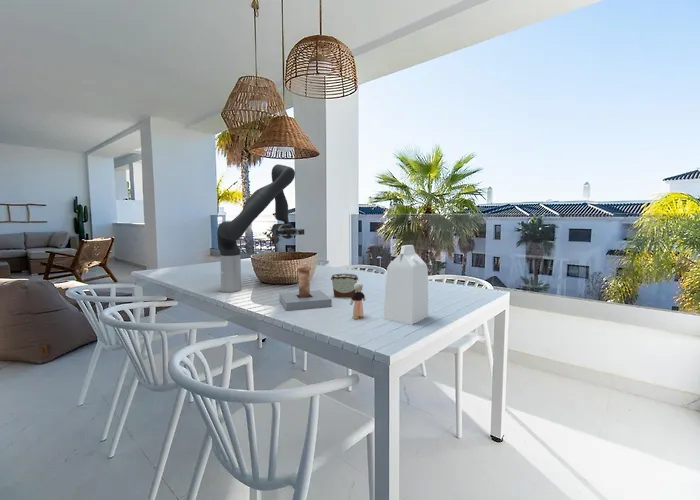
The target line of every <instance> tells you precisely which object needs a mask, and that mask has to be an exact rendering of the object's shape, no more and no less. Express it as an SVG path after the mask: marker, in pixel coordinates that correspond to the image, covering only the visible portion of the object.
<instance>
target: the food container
mask: <svg viewBox="0 0 700 500" xmlns="http://www.w3.org/2000/svg"><path fill="white" fill-rule="evenodd" d="M330 280H331V282H332V283H331V284H332V290H333V291H332V292H333V298H334V299H335V298H336V299H352V297H353V295H354V293H355V292H356V291H355V289H354V285H355V284H356V283H358V282H359V277H358V275H357V274H354V273H335V274H332V275H331V277H330Z"/></svg>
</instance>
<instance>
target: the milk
mask: <svg viewBox="0 0 700 500" xmlns="http://www.w3.org/2000/svg"><path fill="white" fill-rule="evenodd" d="M400 248H401V249H400V253H399V254H398V255H397V256H396V257H395V258H394V259H393V260H391V262H390V263H389V264H388V266H387V267H386V275H385V276H386V278H385V290H384V305H383V319H384V318H385V320H390V321H393V320H394V321H393V322H398V321H399V322H398V323H402V322H403V323H402V324H406V323H407V324H408V325H411V324H412V325H414V323H415V324H416V322H417V323H419V322H420V320H421V321H423V320H425V319H427V318H429V276H428V274H429V273H428V272H429V271H428V270H429V269H428V265H427V264H426V262H425V261H424V260H423V259H422V258H421V257H420V256H419V255H418V254H417V252H416V250H415V246H414V245H413V244H406V245H401V247H400ZM426 317H427V318H426ZM424 318H425V319H424ZM422 319H423V320H422ZM418 321H419V322H418ZM407 324H406V325H407Z"/></svg>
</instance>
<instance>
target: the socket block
mask: <svg viewBox="0 0 700 500" xmlns="http://www.w3.org/2000/svg"><path fill="white" fill-rule="evenodd" d="M278 294H279V295H278V297H279V298H278V299H279V302H280V303H281V304H282V306H283V308H284V309H285V311H297V310H299V311H300V310H308V309H310V310H311V309H321V308H331V307H332V304H333V303H332V302H333V301H332V300H333V299H332V298H331V297H329V296H328V295H327V294H325V293H324V292H323V291H321V290H320V289H318V290H310V297H308V298H299V291H293V292H292V291H291V292H279V293H278Z"/></svg>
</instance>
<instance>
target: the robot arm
mask: <svg viewBox="0 0 700 500" xmlns="http://www.w3.org/2000/svg"><path fill="white" fill-rule="evenodd" d="M295 176H296V171H295V169H294V168H293V167H291V166H287V165H283V164H275V165H274V166H273V167H272V169H271V183H269V184H266V185H264V186H262V187H260V188H258V189H256V190H255V191H254V192H253V193H252V194H251V195H250V196H249V197H248V198H247V199H246V202H245V203H244V206H243V209H242V210H241V211H240V212H239V214H238V215H236V217H235V218H233V219H232V220H231V221H228V220H227V221H222V222H220V224H219V225H218V227H217V232H216V233H217V246H218V250H219V257H220V258H219V259H220V289H221V290H220V291H221V293H223V292H225V293H232V292H233V293H234V292H239V291H242V273H241V272H242V265H241V258H242V257H241V249H240V248H239V246H238V243H237V241H238V240H240V239H241V238H242V236H243V235H244V233H246V231H247V230H248V228H249V227H250V225H251V224H252V223H253V222H254V221H255V220H256V219H257V218H258V217H259V216H260V215H261V213H262V212H264V210H265V209H266V208H267V207H268V206H269V205H270V204H271V203H272V202H273V200H274V203H275V205H274V207H275V208H274V211H275V212H274V218H275V220H277V221H280V222H283V223H274V224H272V226H271V233H272V235H273V236H274V237H281V238H283V239H285V240H290V239H292V238H293V237H294V236H300V235H303V236H304V235H305V229H303V228H299V229H298V228H297V227H296V228H295V227H294V226H293V225H292V224H290V220H289V203H288V200H287V197H286V196H285V191H284V190H285V189H286V188H287V187H288V186H289V185H290V184H291V183H293V181H294V179H295Z"/></svg>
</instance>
